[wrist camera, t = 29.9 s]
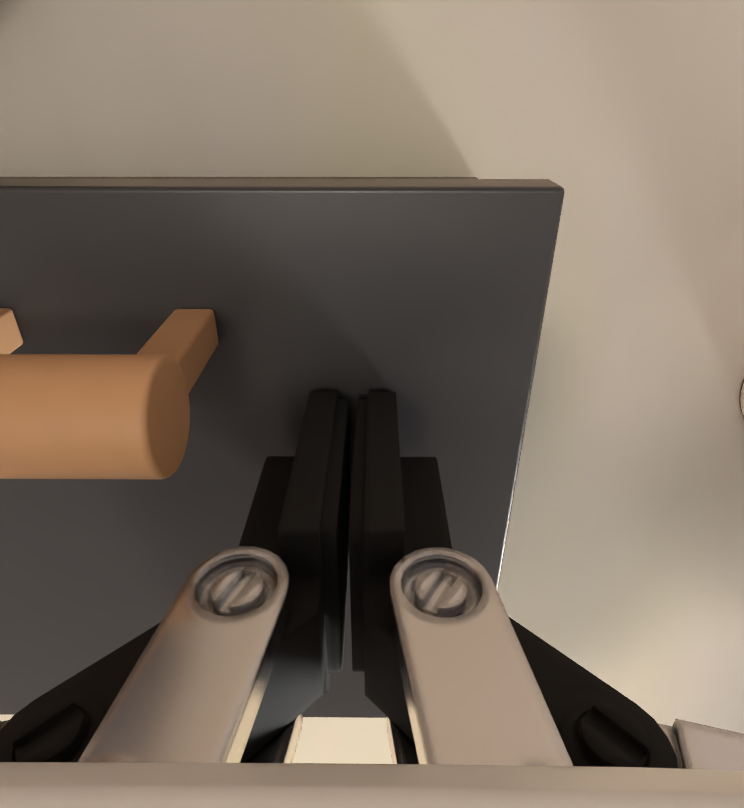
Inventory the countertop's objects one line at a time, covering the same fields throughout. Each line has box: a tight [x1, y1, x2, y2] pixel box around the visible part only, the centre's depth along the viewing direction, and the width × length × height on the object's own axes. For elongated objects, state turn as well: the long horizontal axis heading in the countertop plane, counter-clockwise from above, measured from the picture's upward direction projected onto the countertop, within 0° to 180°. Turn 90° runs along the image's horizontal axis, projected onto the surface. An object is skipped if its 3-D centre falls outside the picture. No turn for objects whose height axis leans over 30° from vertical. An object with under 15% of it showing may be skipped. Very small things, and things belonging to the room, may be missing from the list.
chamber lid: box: [0, 179, 564, 718], centre depth 11 cm, size 14×16×5 cm
